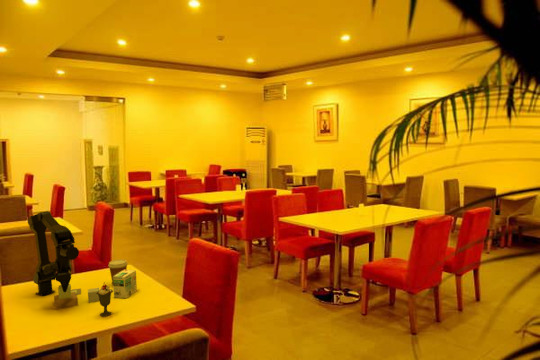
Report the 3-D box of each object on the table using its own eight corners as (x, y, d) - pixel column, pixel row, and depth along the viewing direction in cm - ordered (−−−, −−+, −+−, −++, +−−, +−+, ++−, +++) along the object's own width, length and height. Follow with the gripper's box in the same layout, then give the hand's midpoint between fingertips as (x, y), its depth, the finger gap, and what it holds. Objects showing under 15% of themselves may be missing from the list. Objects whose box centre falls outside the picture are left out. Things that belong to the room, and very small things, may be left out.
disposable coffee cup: (124, 287, 213) (123, 264, 212) (106, 287, 213) (105, 264, 212) (131, 280, 222) (130, 259, 221) (113, 281, 222) (112, 259, 221)
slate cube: (88, 303, 193) (87, 292, 193) (88, 299, 198) (87, 289, 197) (100, 301, 195) (99, 291, 195) (99, 297, 200) (98, 287, 199)
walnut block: (56, 310, 186) (55, 302, 185) (54, 304, 193) (53, 295, 193) (78, 306, 191) (77, 297, 190) (75, 299, 198) (74, 291, 198)
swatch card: (63, 297, 201) (63, 296, 201) (63, 291, 208) (63, 290, 208) (81, 294, 204) (81, 293, 204) (80, 288, 211) (80, 288, 211)
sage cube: (58, 299, 188) (58, 288, 188) (59, 295, 193) (58, 285, 192) (71, 297, 190) (70, 287, 190) (71, 294, 195) (70, 283, 194)
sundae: (104, 318, 176) (102, 284, 174) (94, 315, 179) (92, 281, 178) (117, 313, 181) (115, 279, 180) (107, 309, 185) (105, 277, 183)
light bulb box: (126, 298, 197) (124, 276, 196) (113, 297, 199) (112, 276, 198) (137, 290, 208) (136, 269, 207) (125, 289, 209) (124, 269, 208)
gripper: (44, 253, 195) (46, 285, 196) (41, 263, 178) (43, 298, 179) (70, 250, 199) (72, 281, 201) (70, 260, 182) (72, 294, 184)
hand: (65, 288), depth 191 cm, fingers open, 9 cm apart
